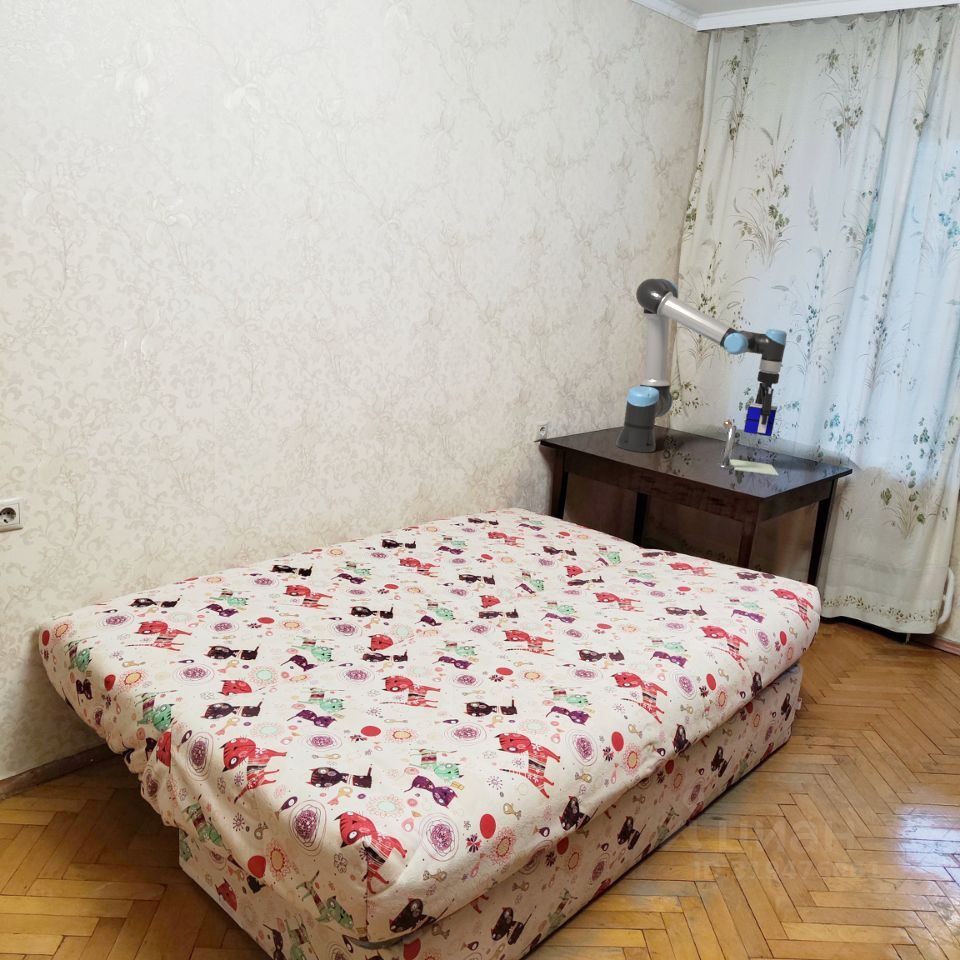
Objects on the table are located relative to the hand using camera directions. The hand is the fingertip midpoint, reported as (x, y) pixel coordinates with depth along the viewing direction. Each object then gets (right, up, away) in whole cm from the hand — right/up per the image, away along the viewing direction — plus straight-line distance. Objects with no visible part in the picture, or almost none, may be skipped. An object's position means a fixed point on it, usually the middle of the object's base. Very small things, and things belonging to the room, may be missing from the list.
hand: (758, 429), depth 336 cm
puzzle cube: (0, -1, 0) cm, 1 cm away
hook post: (-13, -13, +1) cm, 18 cm away
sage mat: (-2, -14, 0) cm, 15 cm away
